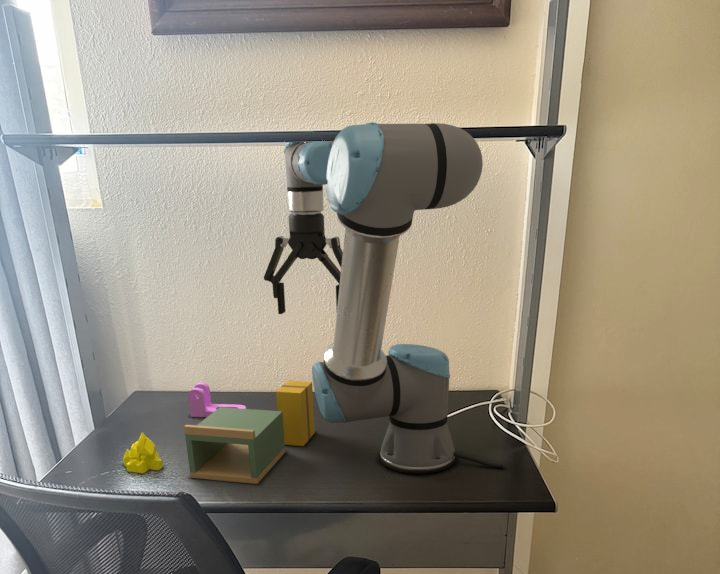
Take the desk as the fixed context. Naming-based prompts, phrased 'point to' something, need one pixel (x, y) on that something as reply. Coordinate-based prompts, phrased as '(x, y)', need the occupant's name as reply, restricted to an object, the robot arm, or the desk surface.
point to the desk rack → (235, 444)
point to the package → (296, 411)
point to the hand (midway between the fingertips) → (310, 314)
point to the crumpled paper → (142, 456)
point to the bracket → (204, 402)
